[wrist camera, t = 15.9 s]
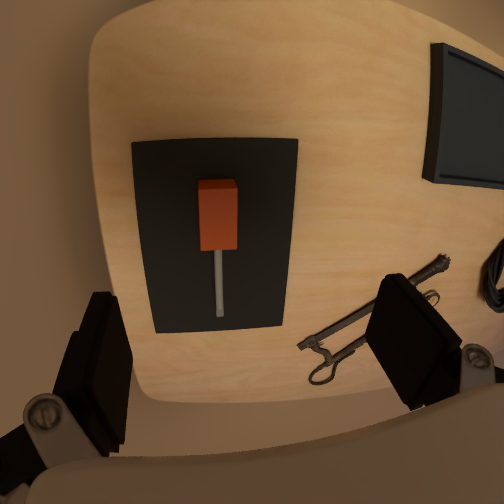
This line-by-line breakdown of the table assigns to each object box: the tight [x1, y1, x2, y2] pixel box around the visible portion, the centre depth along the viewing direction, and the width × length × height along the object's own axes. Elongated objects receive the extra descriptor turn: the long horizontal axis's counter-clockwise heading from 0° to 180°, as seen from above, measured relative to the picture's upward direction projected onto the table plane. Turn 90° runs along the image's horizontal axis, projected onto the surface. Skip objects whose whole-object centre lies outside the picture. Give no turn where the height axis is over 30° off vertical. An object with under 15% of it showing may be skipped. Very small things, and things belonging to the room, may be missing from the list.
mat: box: [131, 138, 298, 333], centre depth 29 cm, size 20×14×1 cm
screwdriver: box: [198, 179, 238, 317], centre depth 28 cm, size 13×3×3 cm, turn 178°
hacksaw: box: [297, 255, 451, 385], centre depth 37 cm, size 24×10×2 cm, turn 120°
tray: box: [422, 43, 504, 190], centre depth 26 cm, size 19×15×2 cm
